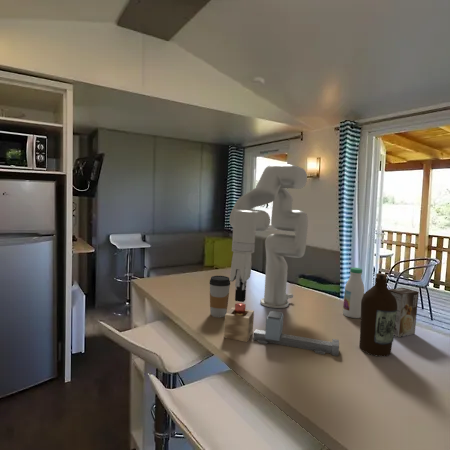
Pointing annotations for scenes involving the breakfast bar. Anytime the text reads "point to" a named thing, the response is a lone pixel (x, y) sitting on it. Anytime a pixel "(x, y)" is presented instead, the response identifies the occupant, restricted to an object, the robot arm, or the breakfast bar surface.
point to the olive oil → (378, 318)
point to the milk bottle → (353, 294)
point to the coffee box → (405, 311)
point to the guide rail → (301, 342)
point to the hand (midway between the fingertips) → (240, 300)
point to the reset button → (240, 308)
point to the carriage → (274, 325)
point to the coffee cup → (219, 295)
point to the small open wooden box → (238, 325)
